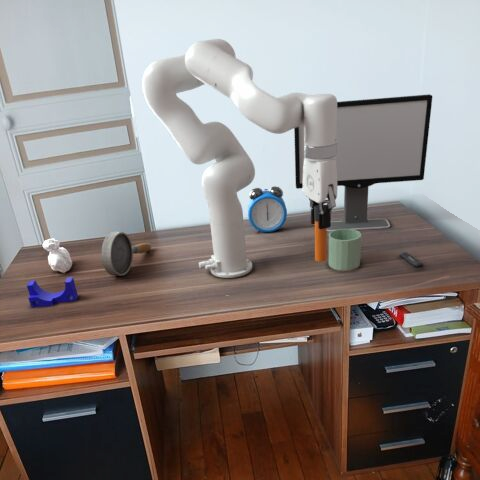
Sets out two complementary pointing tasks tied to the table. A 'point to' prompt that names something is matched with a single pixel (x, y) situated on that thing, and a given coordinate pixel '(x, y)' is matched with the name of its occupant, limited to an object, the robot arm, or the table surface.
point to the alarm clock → (267, 209)
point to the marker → (320, 238)
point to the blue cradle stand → (51, 294)
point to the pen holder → (344, 249)
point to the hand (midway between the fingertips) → (320, 224)
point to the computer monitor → (374, 151)
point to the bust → (57, 256)
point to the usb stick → (411, 260)
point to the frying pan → (120, 253)
